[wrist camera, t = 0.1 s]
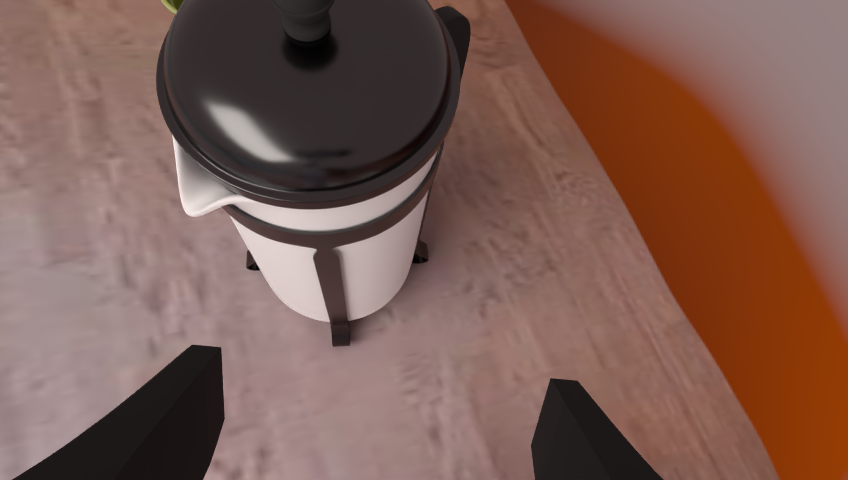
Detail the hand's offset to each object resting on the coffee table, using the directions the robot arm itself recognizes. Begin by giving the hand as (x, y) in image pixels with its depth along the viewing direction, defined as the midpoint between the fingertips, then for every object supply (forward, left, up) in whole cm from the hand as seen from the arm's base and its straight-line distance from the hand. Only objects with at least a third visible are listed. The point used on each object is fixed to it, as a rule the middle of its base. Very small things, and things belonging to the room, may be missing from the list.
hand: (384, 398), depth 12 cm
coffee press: (+15, +4, -32) cm, 36 cm away
